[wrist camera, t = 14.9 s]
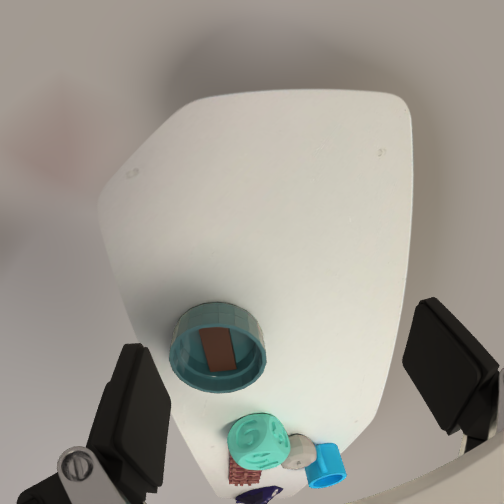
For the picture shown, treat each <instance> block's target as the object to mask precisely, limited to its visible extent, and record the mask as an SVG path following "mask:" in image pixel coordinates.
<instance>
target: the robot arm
mask: <svg viewBox="0 0 504 504" xmlns="http://www.w3.org/2000/svg"><path fill="white" fill-rule="evenodd" d="M402 363H403V366H404V368H405V370H406V371H407V373H408V375H409V376H410V378H411V379H412V381H413V383H414V384H415V386H416V387H417V389H418V391H419V392H420V394H421V395H422V397H423V399H424V401H425V402H426V404H427V406H428V407H429V409H430V411H431V412H432V414H433V415H434V417H435V419H436V421H437V423H438V424H439V426H440V427H441V429H442V430H444V431H446V432H447V434H448V435H451V434H453V433H455V432H457V431H459V430H460V429H461V430H462V431H463V438H462V442H461V447H460V452H459V456H458V458H457V459H455V460H453V461H451V462H449V463H447V464H445V465H443V466H441V467H439V468H438V469H436V470H434V471H431V472H429V473H427V474H425V475H423V476H421V477H418V478H416V479H414V480H412V481H409V482H407V483H404V484H402V485H400V486H397V487H394V488H392V489H389V490H387V491H384V492H381V493H378V494H375V495H373V496H369V497H367V498H363V499H360V500H357V501H354V502H350V503H346V504H504V368H503V369H502V370H501V371H500V372H499V371H498V368H499V364H498V363H497V362H496V361H495V359H493V357H492V356H491V355H490V354H489V353H488V352H487V351H486V349H485V348H484V347H483V346H482V345H481V344H480V343H479V342H478V340H477V339H476V338H475V337H474V336H473V335H472V334H471V333H470V332H469V331H468V330H467V329H466V328H465V327H464V326H463V324H462V323H461V322H460V321H459V320H458V319H456V317H455V316H454V315H453V314H452V313H451V312H450V311H449V310H448V309H447V308H446V307H445V306H444V305H443V304H442V303H441V302H440V301H439V300H438V299H437V298H435V297H432V298H428V299H425V300H421V301H420V302H419V304H418V305H417V306H416V308H415V312H414V317H413V321H412V325H411V329H410V333H409V337H408V341H407V345H406V348H405V352H404V355H403V359H402ZM170 411H171V400H170V396H169V394H168V392H167V390H166V388H165V386H164V384H163V381H162V379H161V377H160V375H159V372H158V370H157V368H156V366H155V363H154V361H153V359H152V356H151V354H150V351H149V349H148V348H147V347H143V345H142V344H141V343H135V344H125V345H124V346H123V348H122V351H121V354H120V356H119V359H118V361H117V364H116V367H115V370H114V372H113V375H112V378H111V381H110V382H108V383H107V384H106V386H105V389H104V392H103V395H102V398H101V401H100V404H99V406H98V409H97V412H96V416H95V419H94V422H93V425H92V428H91V431H90V435H89V438H88V442H87V445H86V448H85V447H81V446H77V447H72V448H69V449H67V450H66V451H64V452H63V453H62V455H61V456H60V458H59V460H58V462H57V471H58V472H57V473H55V474H54V475H52V476H50V477H48V478H47V479H45V480H43V481H41V482H39V483H38V484H36V485H34V486H32V487H30V488H28V489H26V490H25V491H24V492H22V493H21V494H20V496H19V497H18V500H17V504H146V502H145V500H146V492H148V493H157V488H158V487H160V486H162V483H163V472H164V463H165V453H166V444H167V435H168V426H169V419H170Z"/></svg>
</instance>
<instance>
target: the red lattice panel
mask: <svg viewBox="0 0 504 504" xmlns="http://www.w3.org/2000/svg"><path fill="white" fill-rule="evenodd" d="M261 471H262V470H249V469H245V468H243V467H241V466H239V465H238V464H237V463H236V462H235V460H234V459H233V458H232V456H231V454H230V468H229V484H235V486H238V484H240V486H243V484H248V486H251V484H252V483H259V480H260V476H261Z"/></svg>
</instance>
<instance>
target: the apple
mask: <svg viewBox="0 0 504 504" xmlns="http://www.w3.org/2000/svg"><path fill="white" fill-rule="evenodd" d="M288 438H289V441H290V453H289V455H288V456H287V458H286V459H285V460H284V462H283V463H281V465H282V467H283V468H285V469H299V468H303V467H307V466H308V465H310V464H311V463H313V462H314V461H315V460H316V457H317V452H316V448H315V446H314V444H313V443H312V441H311V440H310V439H309V438H307V437H306V436H303V435H292V436H289V437H288Z"/></svg>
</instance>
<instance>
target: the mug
mask: <svg viewBox="0 0 504 504" xmlns="http://www.w3.org/2000/svg"><path fill="white" fill-rule="evenodd" d="M315 448H316V452H317V457H316V460H315V461H314V462H313V463H311V464H310V465H308V466H307V467H305V471H306V475H307V480H308V484H309V487H311V488H324V487H328V486H332V485H334V484H337V483H339V482H341V481H342V480H344V479H345V477H346V476H347V474H346V471H345V468H344V465H343V462H342V459H341V456H340V453H339V450H338V447H337V445H336V444H333V443H325V444H320V445H316V446H315Z"/></svg>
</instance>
